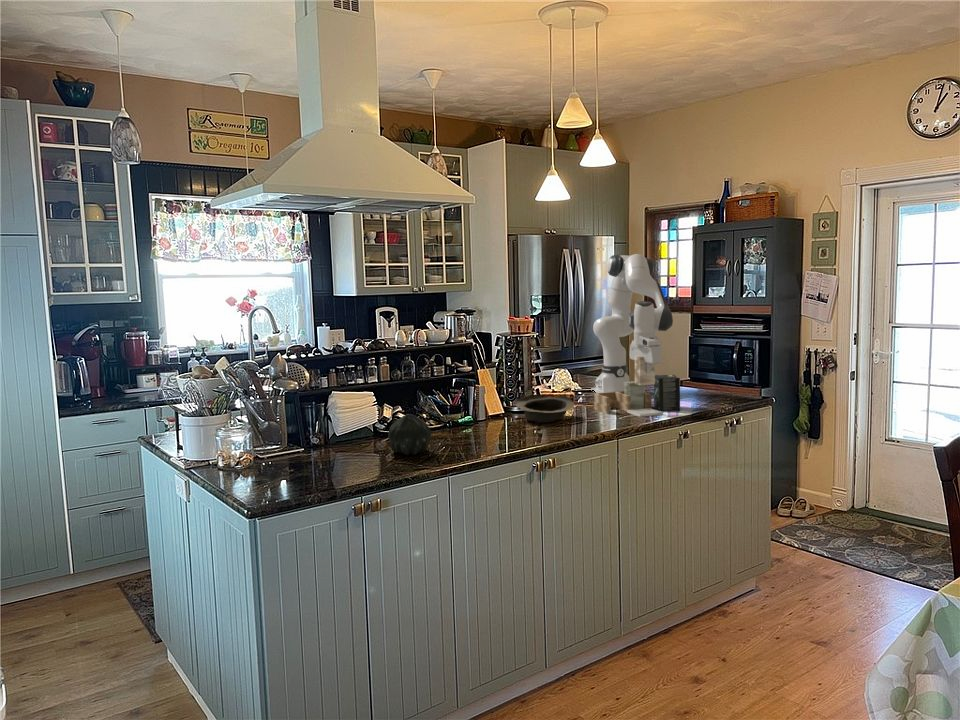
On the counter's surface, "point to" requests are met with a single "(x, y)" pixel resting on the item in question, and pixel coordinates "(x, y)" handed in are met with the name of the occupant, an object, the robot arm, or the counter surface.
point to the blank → (643, 372)
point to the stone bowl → (544, 407)
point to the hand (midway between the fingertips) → (644, 372)
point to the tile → (644, 412)
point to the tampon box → (667, 393)
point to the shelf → (622, 399)
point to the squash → (409, 435)
